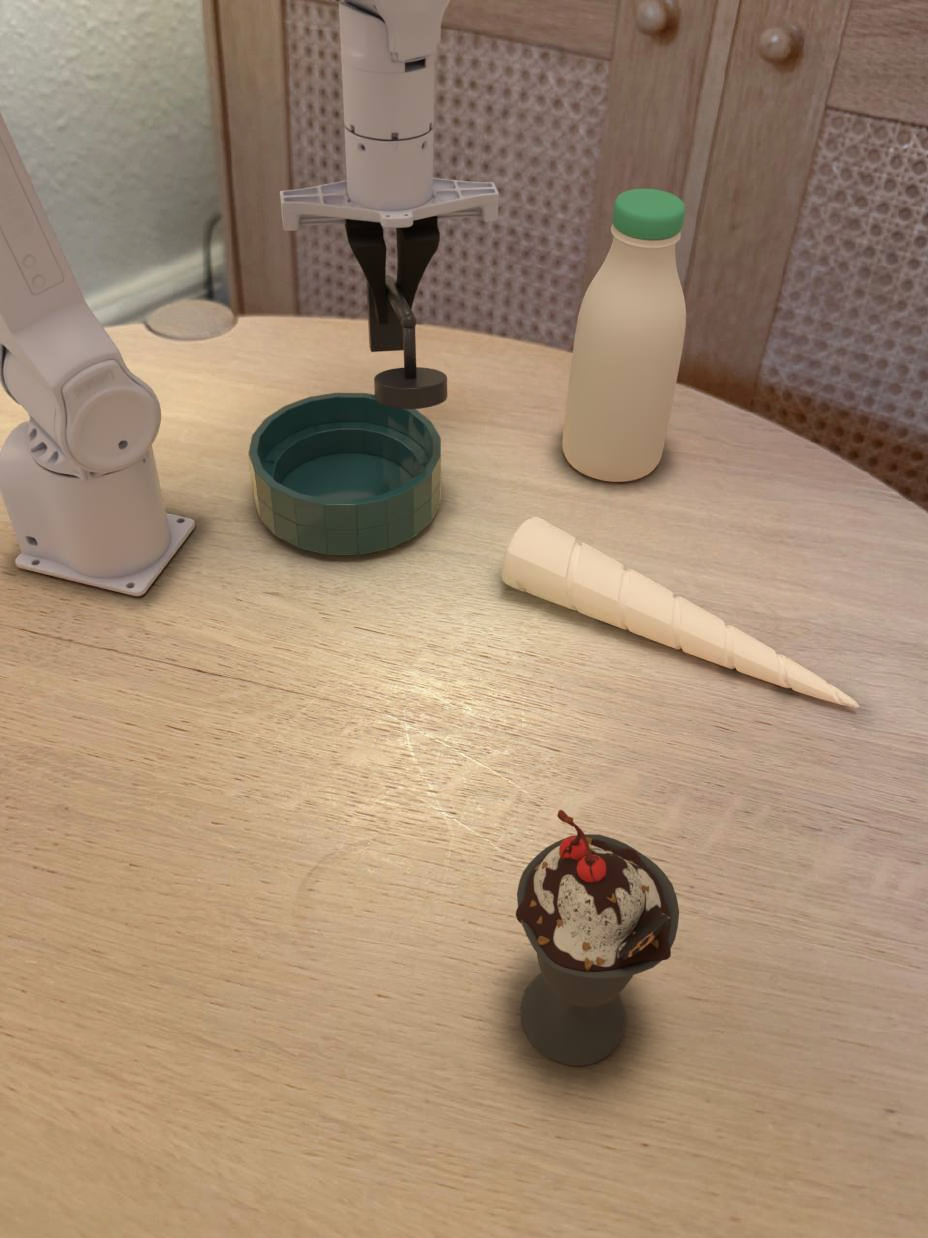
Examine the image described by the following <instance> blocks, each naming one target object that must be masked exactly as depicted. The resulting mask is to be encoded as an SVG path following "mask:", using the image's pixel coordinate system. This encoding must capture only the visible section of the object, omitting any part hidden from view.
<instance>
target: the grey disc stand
mask: <svg viewBox="0 0 928 1238" xmlns="http://www.w3.org/2000/svg"><path fill="white" fill-rule="evenodd" d="M396 283H397V279H394V277H393V276H392V275H389V274H386V283H385V285H386V297H387V306H388V324H387V325H379V324H378V321H377V317H376V313H375V304H374V298H373V295H372V292H371V289H370V287H369V284H368V282H367V280H366V281H365V285H366V286H365V287H366V305H367V323H368V324H367V325H368V326H367V327H368V347H369V350H370V352H371V353H379V352H380V353H381V352H382V353H383V352H399V351H400V352H401V351H403V367H397V368H390V369H386V370H383V371H381V372H379V373H377V374H375V376H374V378H373V388H374V395H375V400H376V401H377V402H378V403H379V404H381V405H384V406H387V407H391V408H398V409H416V410H418V409H427V408H431V407H435V406H438V405H441V404H443V403H444V402H445V401H447V399H448V376H447V374H446V373H445V372H443V371H441V370H438V369H435V368H429V367H422V366H417V342H416V341H417V340H416V339H417V337H416V326H417V323H418V322H417V318H416V316H415V314H414V313H413V310H412V309H410V307H409V305H408V304H407V302H406V300H405V298H404V296H403V295H402V293H401V291H400V289H399V288H398V286H397V284H396ZM400 323H401V324H400Z"/></svg>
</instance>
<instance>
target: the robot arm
mask: <svg viewBox="0 0 928 1238" xmlns="http://www.w3.org/2000/svg"><path fill="white" fill-rule="evenodd" d="M332 1H333V2H335V3H338V11H339V13H338V14H339V34H340V35H339V36H340V37H339V39H340V55H341V56H340V58H341V76H342V77H341V79H342V82H341V83H342V101H343V102H342V103H343V104H342V105H343V127H344V148H345V149H344V150H345V151H344V152H345V169H346V170H345V171H346V180H340V181H336V182H335V181H334V182H330V183H325V184H320V185H314V186H310V187H304V188H298V189H287V190H280V191H279V199H280V209H281V210H280V211H281V220H282V228H283V231H284V232H294V231H299V230H300V229H301V227H306V226H325V225H327V226H328V225H330V226H331V225H344V229H345V232H346V238H347V242H348V245H349V247H350V250H351V251H352V254H353V255H354V258H355V259H356V261H357V263H358V265H359V266H360V268H361V270H362V272H363V274H364V276H365V279H366V281H367V282H368V284H369V287H370V289H371V292H372V295H373V298H374V304H375V313H376V317H377V321H378V324H379V325H387V324H388V306H387V297H386V285H385V283H386V275H387V274H386V273H387V272H386V271H387V248H388V247H387V245H386V244H387V243H386V241H385V237H384V228H385V229H395V235H396V257H397V258H396V259H397V260H396V261H397V265H396V266H397V267H396V268H397V269H396V271H397V272H396V280H397V283H396V284H397V286H398V288H399V289H400V291H401V293H402V295H403V296H404V298H405V300H406V302H407V304H408V305H409V307H410V309H411V310H412V308H413V304H414V302H415V297H416V294H417V291H418V288H419V286H420V283H421V280H422V278H423V276H424V273H425V271H426V269H427V267H428V266H429V264H430V262H431V260H432V259H433V257H434V255H435V254H436V253H437V251H438V249H439V245H440V241H441V240H440V239H441V233H440V229H439V227H438V225H439V223H438V221H439V220H457V219H461V220H462V219H477V218H478V219H479V218H480V220H481V221H482V222H486V223H487V222H498V221H499V206H500V205H499V204H500V193H499V190H498V188H497V186H496V184H495V182H493V181H467V180H457V179H448V178H438V177H434V133H435V131H434V128H435V127H434V126H435V59H436V57H435V54H436V52H437V49H438V44H441V39H442V38H441V36H442V34H441V32H442V22H443V17H444V14H445V12H446V9H447V8H448V6H449V4H450V2H451V0H332ZM400 324H401V323H400ZM0 386H1V387H2V390H3V391H4V392H5V393H6V394H7V396H8V397H9V398H11V399H12V401H14V402H15V403H16V404H17V405H19V406H21V407H22V408H23V409H24V410H25V412H26V413H27V415H28V418H29V419H28V420H26V421H23V422H21V423H19V424H18V425H16V426H15V427H14V428H13V429H12V430H11V431H10V433H9V434H8V435H7V437H6V439H5V440H4V442H3V444H2V446H1V449H0V494H1V497H2V499H3V502H4V505H5V509H6V511H7V514H8V517H9V520H10V523H11V526H12V529H13V531H14V534H15V537H16V541H17V543H18V546H19V549H20V553H19V554H18V556H17V557H16V558H15V559H14V563H15V566H16V567H17V568H18V569H22V570H27V571H31V572H35V573H39V574H42V575H47V576H51V577H55V578H59V579H64V580H67V581H71V582H76V583H79V584H84V585H88V586H92V587H96V588H100V589H105V590H107V591H108V590H109V591H113V592H117V593H121V594H125V595H129V596H133V597H141V596H143V595H145V594H146V592H147V591H148V590H149V588H150V587H151V586H152V584H153V583H155V580H156V579H157V578H158V577H159V575H160V574H161V573H162V572H163V570H164V569H165V568H166V566H167V565H168V564H169V562H170V561H171V559H172V558H173V557H174V555H175V554H176V553H177V552H178V550H179V549H180V548H181V546H182V545H183V544H184V542H185V541H186V539H187V538H188V537H189V535H190V534H191V533H192V531H193V530H194V529H195V527H196V523H195V520H194V519H193V518H190V517H186V516H181V515H177V514H173V513H168V512H166V511H167V510H166V506H165V502H164V497H163V491H162V487H161V481H160V477H159V472H158V468H157V463H156V458H155V454H154V448H153V444H154V442H155V441H156V438H157V436H158V434H159V432H160V428H161V425H162V424H161V423H162V409H161V404H160V400H159V398H158V396H157V394H156V392H155V391H154V390H153V388H152V387H151V386H150V385H149V384H148V383H147V382H145V381H144V380H142V378H140V377H139V376H137V375H135V374H134V373H133V372H131V370H130V369H129V368H128V366H127V365H126V362H125V360H124V358H123V356H122V354H121V351H120V349H119V348H118V347H117V344H116V343H115V342H114V340H113V339H112V337H111V336H110V335H109V333H108V332H107V331H106V329H105V328H104V326H103V325H102V323H101V322H100V321H99V319H98V318H97V316H96V315H95V314H94V312H93V311H92V309H91V308H90V306H89V305H88V303H87V302H86V300H85V298H84V295H83V293H82V291H81V288H80V287H79V284H78V282H77V280H76V278H75V275H74V274H73V271H72V269H71V266H70V264H69V261H68V260H67V258H66V255H65V253H64V251H63V249H62V246H61V244H60V242H59V239H58V238H57V235H56V233H55V231H54V228H53V226H52V224H51V222H50V220H49V217H48V215H47V213H46V211H45V208H44V207H43V204H42V202H41V200H40V197H39V195H38V192H37V191H36V189H35V186H34V184H33V182H32V179H31V177H30V175H29V173H28V170H27V168H26V165H25V164H24V162H23V159H22V157H21V156H20V152H19V151H18V148H17V146H16V144H15V142H14V140H13V137H12V135H11V133H10V131H9V128H8V126H7V124H6V122H5V120H4V117H3V115H2V113H1V112H0Z"/></svg>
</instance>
